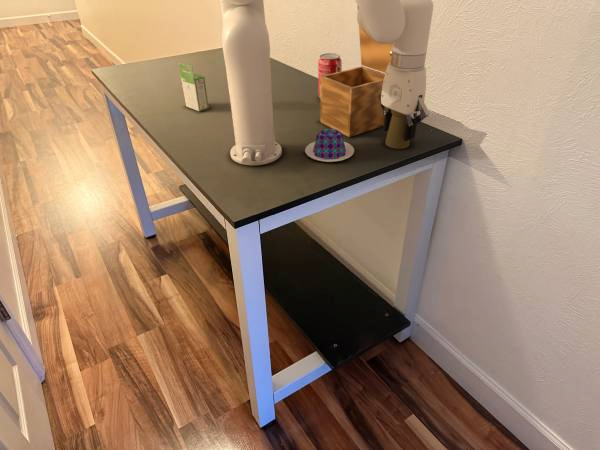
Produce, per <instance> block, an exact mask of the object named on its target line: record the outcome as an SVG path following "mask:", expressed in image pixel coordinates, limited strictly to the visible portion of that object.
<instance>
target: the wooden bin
mask: <svg viewBox="0 0 600 450" xmlns="http://www.w3.org/2000/svg"><path fill="white" fill-rule="evenodd" d="M384 76H385V73H384V72H381V71H378V70H375V69H372V68H369V67H366V66H363V65H361V66H358V67H354V68H349V69H345V70H341V72H337V73H333V74H328V75H324V76H321V99H320V118H319V119H320V123H321V124H322V125H325V126H327V127H329V128H330V129H337V130H338V131H340V132H341V133H342V135H344V136H346V137H347V138H352V137H354V136H357V135H360V134H364V133H366V132H369V131H372V130H376V129H378V128H381V127H384V118H385V115H383V109H382V107H381V103H380V101H379V99H378V95H379V94H380V93H381V92H382V87H383V81H384Z"/></svg>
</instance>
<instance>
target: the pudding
mask: <svg viewBox="0 0 600 450" xmlns="http://www.w3.org/2000/svg"><path fill="white" fill-rule="evenodd" d="M343 135H344V134H342V133H341V132H340V131H338V130H337V129H332V128H326V129H325V128H324V129H321V130H320V131H318V133H317V134H316V136H315V137H316V138H315V141H313V142H311V143H309V144H308V145H307V146H306V147H305V149H304V153H305V154H306V156H307V157H310V158H311V159H313V160H315V161H319V162H326V163H333V162H341V161H344V160H346V159H349V158H350V157H352V156H353V155H354V153H355V148H354V146H353V145H352V144H350V143H348V142H346V141H345V140H344V136H343Z"/></svg>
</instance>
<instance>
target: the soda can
mask: <svg viewBox="0 0 600 450" xmlns="http://www.w3.org/2000/svg"><path fill="white" fill-rule="evenodd" d="M342 62H343V61H342V58H341V54H339V53H335V52H328V53H327V52H326V53H322V54H320V55H319V59H318V61H317V63H318V64H317V65H318V66H317V69H318V72H317V73H318V75H317V76H318V77H317V78H318V82H317V84H318V87H317V88H318V97H319V99H320V100H321V76H324V75H328V74H333V73H337V72H341V71H343V70H342V67H343V65H342V64H343V63H342Z"/></svg>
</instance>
